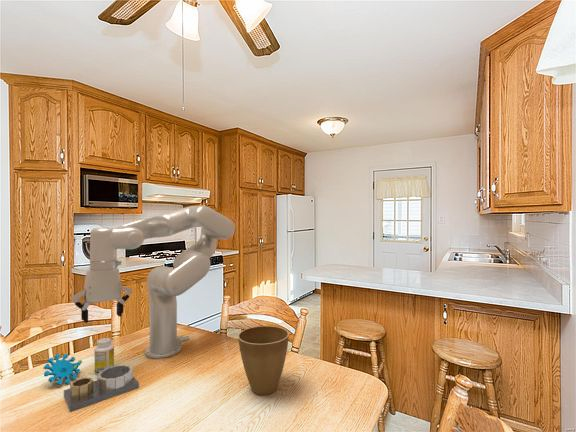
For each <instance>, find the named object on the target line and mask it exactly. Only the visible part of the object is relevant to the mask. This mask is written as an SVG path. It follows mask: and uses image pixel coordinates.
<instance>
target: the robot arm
mask: <svg viewBox="0 0 576 432" xmlns="http://www.w3.org/2000/svg"><path fill="white" fill-rule="evenodd" d="M193 228H201V229H200V236H199V239H198V240H197V242H195V243H194V244H192V245H191V246H190V247H188V248H186V249H185V250H183V251H182V252H181V253H179V254H178V255H176V257H175V258H174V260H173V262H172V265H173V266H172V267H170V266H164V265H160V266H156V267H154V268H153V269H151V270H150V271H149V273H148V274H147V278H146V287H147V293H148V300H149V304H148V305H149V308H148V309H149V346H148V347H147V348H146V349H145V350H144V356H145V357H147V358H150V359H155V360H156V359H165V358H169V357H173V356H175V355H177V354H178V353H180V351H182V345H181V344H182V343H185V342H189V341H190V336H189V335H186V336H184V335H182V334H181V335H179V336H178V312H177V311H178V301H177V297H178V296H181V295H183V294H184V293H186V292H187V291H188V290H190V289H191V288H192V287H193V286H195V285H196V284H197V283H199V282H200V281H201V280H203V278H205V277H206V276H207V275H208V273H209V271H210V269H211V258H212V256H213V255H215V253H216V250H217V243H218V240H228V239H230V238H232V237H233V236H234V234H235V231H236V226H235V223H234V222H233V220H231V219H230V218H228V217H226V215H223V214H222V213H220V212H218V211H217V210H215V209H213V208H211V207H209V206H206V205H190V206H186V207H183V208H182V207H181V208H179V209H176V210H173V211H170V212H166V213H163V214H158V215H154V216H152V217H148V218H144V219H143V218H142V219H139V220H137V221H133V222H130V223H129V222H128V223H126V224H123V225H119V226H117V227H115V228H114V227H96V228H95V227H94V228H93V229H91V231H90V233H89V236H90V237H89V244H90V245H89V270H86V274H85V278H84V285H83V286H84V288H83V290H81V291H80V292H78V293H76V294H74V295H72V296H71V297H70V299H71V300H72V302H73V303H74V305H75V306H76V307H77V308H79V309H80V310H81V314H80V315H81V317H80V318H81V321H83V322H84V323H85V324H87V323H89V310H88V308H89V306H90V305H91V304H95V303H103V302H109V301H115V300H116V301H117V303H116V315H117V317H122V316H123V315H122V314H123V313H124V304H125V303H126V302H127V300H128V299H129V298H130V296H131V294H132V291H133V289H132V288H131V287H130V288H129V287H127V286H124V285H122V281H121V273H120V269H119V268H118V266H121V265H122V260H118V259H117V257H118V255H117V254H118V249H119V250H135V249H137V248H139V247H141V246H142V245H143V243H144V241H145V240H148V239H153V238H154V239H155V238H166V237H171V236H173V235H176V234H179V233H182V232H184V231H188V230H190V229H193ZM122 291H124V292H125V294H124V295H123V296H122ZM81 297H83V300H84V302H82V303H81V302H80V301H79V299H80V298H81Z"/></svg>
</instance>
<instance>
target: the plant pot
mask: <svg viewBox="0 0 576 432" xmlns="http://www.w3.org/2000/svg"><path fill="white" fill-rule="evenodd" d="M289 337H290V333H289V331H288V330H287V329H285V328H283V327H279V326H275V325H259V326H251V327H249V328H248V327H247V328H246V329H243V330H241V331H240V332H239V333H238V334H237V340H238V346H239V351H240V355H241V361H242V365H243V369H244V372H245V375H246V378H247V381H248V384H249V386H250V389H251V390H252V392H253V393H255V394H256V395H259V396H266V395H271V394H272V393H275V392H276V391H277V389H278V386H279V383H280V380H281V376H282V373H283V370H284V368H285V367H284V366H285V363H286V357H287V352H288V344H289Z"/></svg>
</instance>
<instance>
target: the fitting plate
mask: <svg viewBox="0 0 576 432" xmlns="http://www.w3.org/2000/svg"><path fill="white" fill-rule="evenodd" d="M96 375H97V374H96ZM139 388H140V382H139V381H138V380H137V378H136V377H135V376H134V368H133V366H132V365H129V364H117V365H115V364H114V366H112V367H108V368H106V369H104V370H102V371H100V372H99V374H98V375H97V376H96V380H94V378H93V377H90V376H89V377H88V376H87V377H81V378H76V379H75V380H73V381H72V382H70V383H69V388H67V389H64V390H63V397H64V401H65V403H66V405H67V408H68V411H69V412H70V413H71V412H73V411H74V412H75V411H76V410H79V409H82V408H86V407H88V406H91V405H93V404H96V403H99V402H103V401H104V400H108V399H110V398H113V397H116V396H119V395H121V394H125V393H127V392H131V391H133V390H137V389H139Z"/></svg>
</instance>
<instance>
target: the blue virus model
mask: <svg viewBox="0 0 576 432" xmlns="http://www.w3.org/2000/svg"><path fill="white" fill-rule="evenodd" d="M60 358H61V354H58V353H57V354H55V356H54V357H50V358H48V360H47V363H46V364H45V365H44V366H43V370H45V371H44V372H43V373H44V374H43V376H44V377H48V376H50V377H49V378H48V379H47V380H48V382H49V383H50V384H51V383H53V381H54V380H55V381H56V379H58V380H57V381H56V382H55V385H57V386H60V385H61V384H62V383H63V380H64V379H65V381H64V385H70V384H71V383H72V382H71V381H75V380H77V379H78V376H77V375H78V374H80V372H81V369H80V368H79V367H80V366H81V364H83V360H81V359H80V360H78V361H77V362H75V360H76V357H75V356H71V358H69V354H67V353H64V354H63V356H62V359H60ZM67 358H69V359H67ZM54 359H55V362H54ZM66 359H67V360H66ZM50 365H51V366H50ZM70 377H71V379H70Z"/></svg>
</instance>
